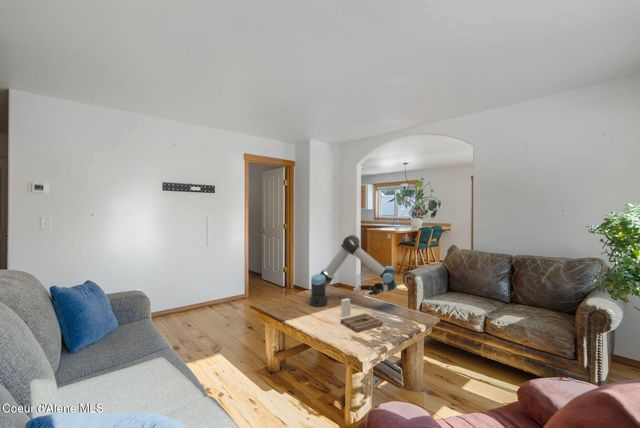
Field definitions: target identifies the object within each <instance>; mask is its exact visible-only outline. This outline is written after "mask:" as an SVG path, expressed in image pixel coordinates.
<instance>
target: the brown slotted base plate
mask: <svg viewBox="0 0 640 428" xmlns="http://www.w3.org/2000/svg"><path fill="white" fill-rule="evenodd" d="M340 324H341V325H343V326H345V327H347V328H348V329H349V330H351V331H353V332H355V333H360V332H364V331H368V330H371V329H376V328H377V327H381V326H383V321H382V320H380V319H378V318H377V317H374V316H372V315H370V314H368V313H366V312H365V313H364V312H363V313H361V314H357V315H352V316H347V317H343V318H341V319H340Z"/></svg>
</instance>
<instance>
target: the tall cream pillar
mask: <svg viewBox="0 0 640 428" xmlns="http://www.w3.org/2000/svg"><path fill="white" fill-rule="evenodd" d="M340 303H341V307H340V308H341V310H340V313H341V317H343V318H347V317H351V299H350V298H347V297H346V298H342V299H341V300H340Z"/></svg>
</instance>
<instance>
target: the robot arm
mask: <svg viewBox="0 0 640 428" xmlns="http://www.w3.org/2000/svg"><path fill="white" fill-rule="evenodd" d="M360 243H361V242H360V238H359V237H358V236H357V235H354V234H351V235H348V236H346V237H345V238H344V239H343V240H342V244H341V245H340V246H341V248H340V249H339V250H338V252H337V253H336V255H335V256H334V257H333V259H332V260H331V261H330V262H329V264H328V265H327V266H326V268H324V269H322V270H321V272H320V273H319V274H318V273H317V274H314V275H312V276H311V281H310V283H311V289H310V290H311V293H310V294H311V295H310V299H309V301H308V304H309V306H310V307H315V308H322V307H326V306H328V304H329V302H328V298H327V294H326V288H327V287H328V286H329V285H330V284H331V283H332V281H333V280H334V276H335V274H336V273H337V271H338V270H339V269H340V267H341V266H342V265H343V263H344V262H345V260H347V258H348V257H349V255H351V256H355V257H356V258H357V259H359V260H360V261H361V262H362V263H363V264H364V265H365V266H367V267H368V268H369V269H370V270H372V271H373V272H374V273H375V274H376V275H378V276H379V278H381V279H382V281H381V282H378V283H374V285H371V284H369V285H367V284H366V285H358V286H356V287H353V292H359V291H360V292H361V291H365V292H364V296H365V297H367V296H368V297H369V296H371V295H373V296H374V295H375V296H377V295H379V294H380V293H385V292H390V291H394V290H396V289H397V288H398V284H397V281H396V280H395V266H391V265H386V266H385V267H384V266H383V265H382V264H381V263H380V262H378V261H377V260H376V259H374V258H373V257H372V256H371V255H370V254H368V253H367V252H366V251H365V250H364V249H362V248H361V245H360Z"/></svg>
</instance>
